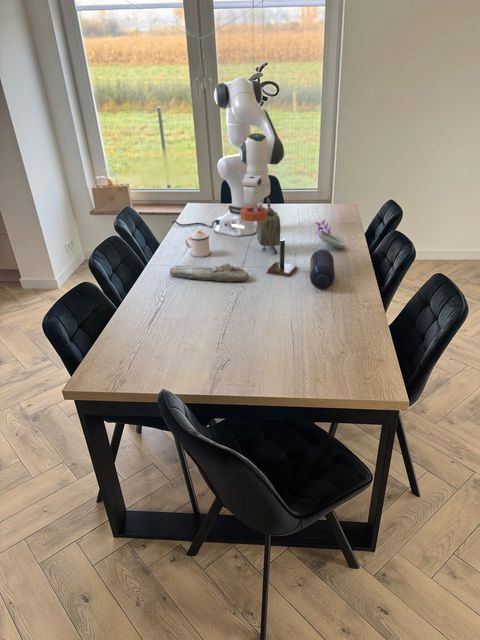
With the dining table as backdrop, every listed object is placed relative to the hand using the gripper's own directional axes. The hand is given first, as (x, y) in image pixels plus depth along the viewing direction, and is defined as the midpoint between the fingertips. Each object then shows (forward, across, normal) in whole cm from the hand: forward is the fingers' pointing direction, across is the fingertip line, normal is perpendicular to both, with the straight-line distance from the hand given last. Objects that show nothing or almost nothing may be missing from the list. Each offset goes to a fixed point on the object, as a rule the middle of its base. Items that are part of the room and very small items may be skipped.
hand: (258, 210), depth 207 cm
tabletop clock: (+25, -19, -3) cm, 32 cm away
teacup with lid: (+25, -3, -33) cm, 42 cm away
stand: (+25, +2, +12) cm, 28 cm away
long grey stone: (+25, +20, -15) cm, 35 cm away
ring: (+2, +4, 0) cm, 5 cm away
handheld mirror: (+25, -41, +21) cm, 53 cm away
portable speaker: (+25, +4, +31) cm, 40 cm away
